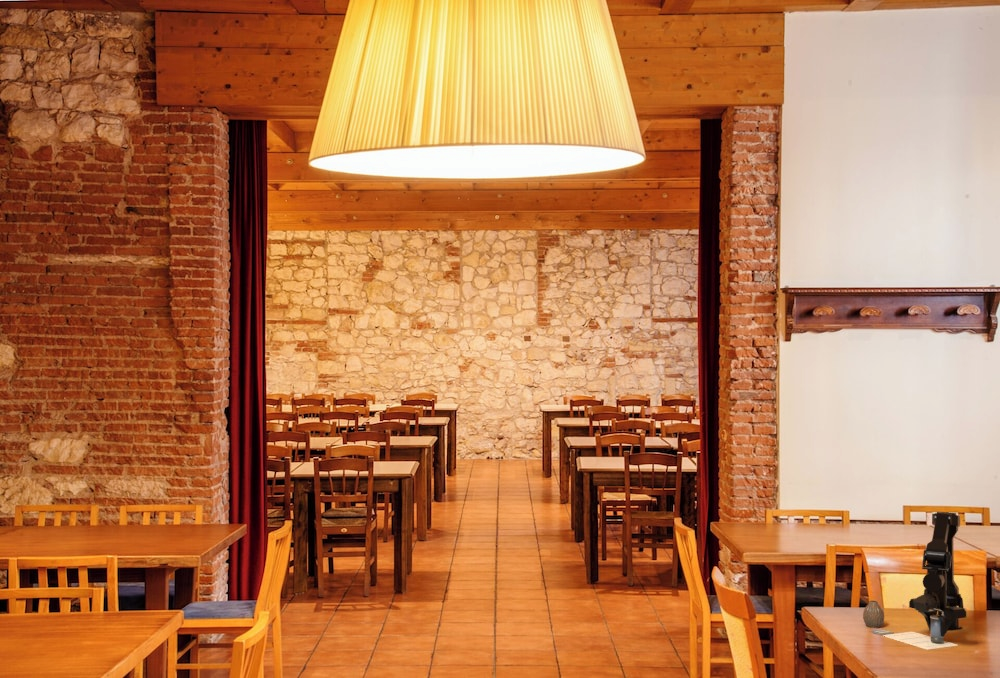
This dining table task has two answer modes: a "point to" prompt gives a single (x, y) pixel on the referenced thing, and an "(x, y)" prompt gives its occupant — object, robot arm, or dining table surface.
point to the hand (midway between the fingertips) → (937, 635)
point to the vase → (873, 615)
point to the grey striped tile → (882, 632)
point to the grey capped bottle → (935, 629)
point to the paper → (919, 640)
